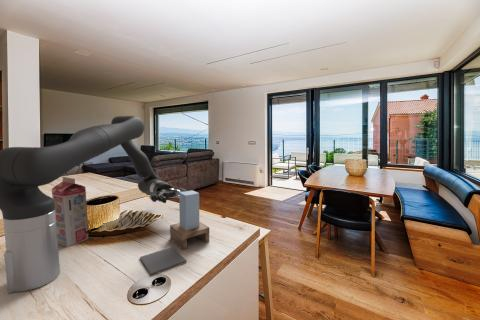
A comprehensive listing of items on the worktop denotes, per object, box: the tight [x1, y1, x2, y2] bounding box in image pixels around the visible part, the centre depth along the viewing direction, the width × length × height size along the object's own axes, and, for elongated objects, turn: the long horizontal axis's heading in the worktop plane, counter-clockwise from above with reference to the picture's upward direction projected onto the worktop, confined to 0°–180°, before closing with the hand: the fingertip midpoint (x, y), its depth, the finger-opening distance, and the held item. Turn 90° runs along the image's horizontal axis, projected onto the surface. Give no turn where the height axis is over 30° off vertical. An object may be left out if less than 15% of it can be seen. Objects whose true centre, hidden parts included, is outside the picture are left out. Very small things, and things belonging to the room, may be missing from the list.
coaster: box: [139, 246, 187, 276], centre depth 65 cm, size 10×10×1 cm
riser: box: [169, 220, 210, 251], centre depth 77 cm, size 10×10×5 cm
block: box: [178, 189, 200, 231], centre depth 76 cm, size 5×5×12 cm
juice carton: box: [51, 176, 89, 248], centre depth 75 cm, size 7×7×22 cm
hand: (176, 198), depth 85 cm, fingers open, 8 cm apart
